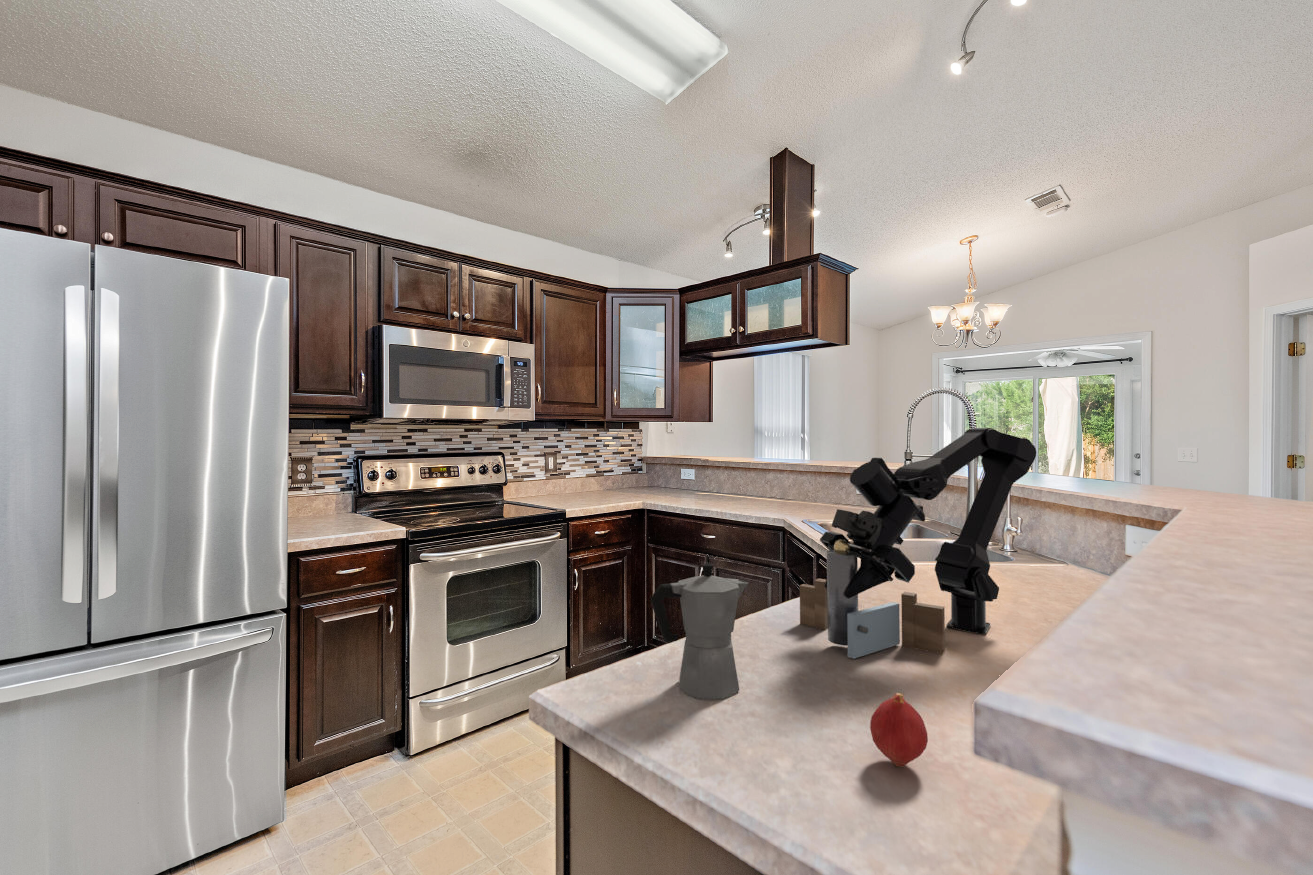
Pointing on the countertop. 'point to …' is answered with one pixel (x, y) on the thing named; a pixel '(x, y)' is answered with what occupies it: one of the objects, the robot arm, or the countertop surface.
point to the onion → (898, 731)
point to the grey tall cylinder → (840, 590)
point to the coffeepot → (704, 632)
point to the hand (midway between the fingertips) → (835, 592)
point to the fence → (918, 619)
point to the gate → (873, 629)
